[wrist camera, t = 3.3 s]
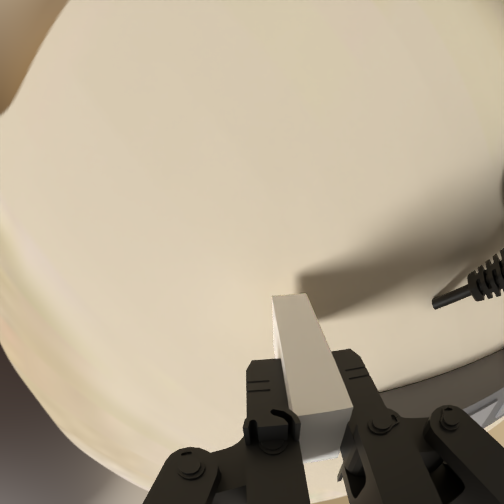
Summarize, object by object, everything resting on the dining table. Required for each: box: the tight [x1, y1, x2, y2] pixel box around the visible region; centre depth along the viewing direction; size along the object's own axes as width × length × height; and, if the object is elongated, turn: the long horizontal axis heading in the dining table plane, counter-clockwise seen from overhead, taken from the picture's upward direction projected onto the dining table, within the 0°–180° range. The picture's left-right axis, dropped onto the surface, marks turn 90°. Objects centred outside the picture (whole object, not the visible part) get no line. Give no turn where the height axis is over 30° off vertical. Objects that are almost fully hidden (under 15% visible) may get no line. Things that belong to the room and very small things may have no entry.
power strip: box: [379, 349, 504, 428], centre depth 15 cm, size 6×26×5 cm, turn 94°
